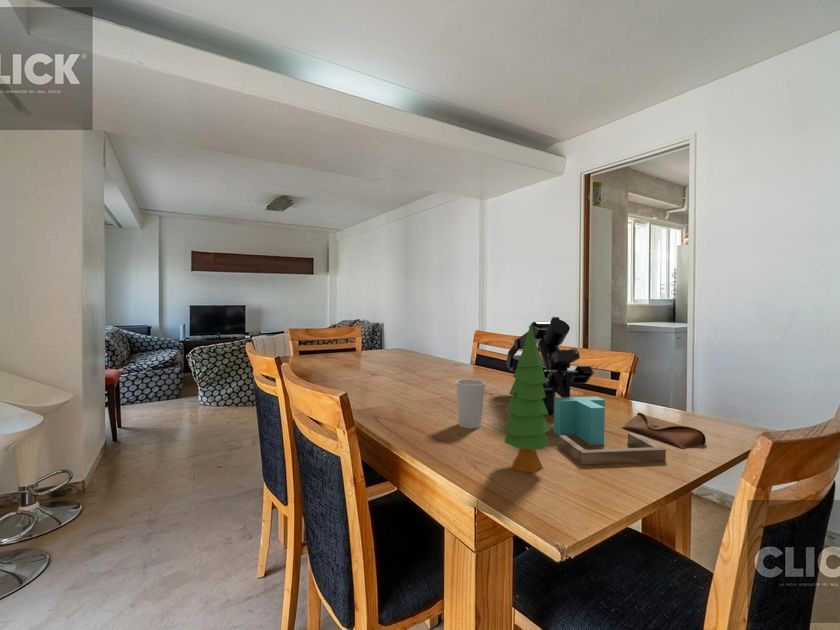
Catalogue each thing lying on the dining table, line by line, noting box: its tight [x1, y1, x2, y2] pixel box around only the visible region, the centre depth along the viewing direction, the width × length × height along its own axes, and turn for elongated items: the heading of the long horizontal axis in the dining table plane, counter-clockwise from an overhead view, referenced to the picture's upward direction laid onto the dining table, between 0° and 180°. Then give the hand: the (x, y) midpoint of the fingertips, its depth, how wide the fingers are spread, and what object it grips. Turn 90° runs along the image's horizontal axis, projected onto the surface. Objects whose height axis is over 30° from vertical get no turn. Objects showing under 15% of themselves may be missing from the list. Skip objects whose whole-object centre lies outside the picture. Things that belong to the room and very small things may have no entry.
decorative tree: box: [502, 323, 551, 473], centre depth 82 cm, size 10×9×30 cm
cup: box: [455, 378, 486, 430], centre depth 109 cm, size 8×8×12 cm
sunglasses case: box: [621, 412, 707, 450], centre depth 102 cm, size 18×7×7 cm, turn 26°
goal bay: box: [558, 432, 667, 466], centre depth 90 cm, size 11×19×2 cm, turn 96°
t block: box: [553, 396, 606, 446], centre depth 100 cm, size 10×12×9 cm
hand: (567, 400), depth 109 cm, fingers closed
